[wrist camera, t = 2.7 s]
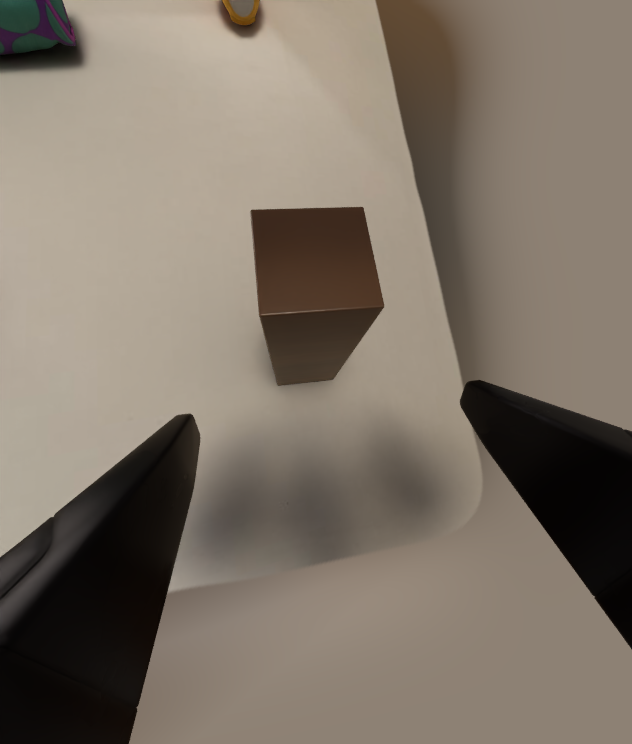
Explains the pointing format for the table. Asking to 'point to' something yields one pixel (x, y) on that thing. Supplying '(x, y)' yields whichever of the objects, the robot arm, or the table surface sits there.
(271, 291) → the walnut block loose
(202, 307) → the table surface
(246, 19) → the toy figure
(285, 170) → the table surface
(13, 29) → the pencil case
